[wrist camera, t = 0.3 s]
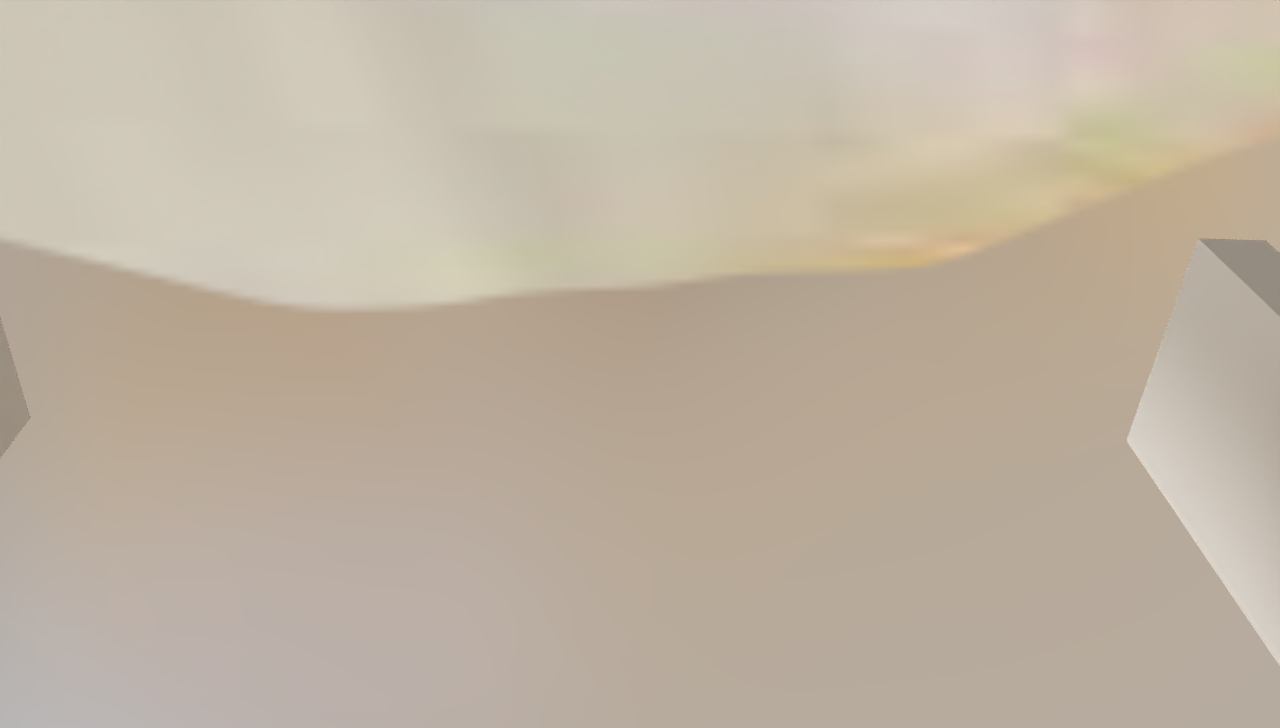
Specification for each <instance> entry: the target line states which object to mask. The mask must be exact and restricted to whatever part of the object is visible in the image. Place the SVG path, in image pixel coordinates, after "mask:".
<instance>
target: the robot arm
mask: <svg viewBox="0 0 1280 728" xmlns="http://www.w3.org/2000/svg"><path fill="white" fill-rule="evenodd" d="M29 419H30V415H29V412H28V408H27V405H26V402H25V398H24V395H23V392H22V388H21V385H20V382H19V378H18V375H17V371H16V368H15V365H14V362H13V358H12V355H11V352H10V348H9V345H8V341H7V338H6V335H5V331H4V328H3V325H2V321H1V318H0V458H1V457H2V455H3V454H4V453H5V451H6V450H7V449H8V447H9V446H10V444H11V443H12V442H13V440H14V439H15V437H16V436H17V435H18V433H19V432H20V431H21V430H22V428H23V427H24V426H25V424H26V423H27V422H28V420H29ZM1127 442H1128V444H1129V445H1130V446H1131V448H1132V449H1133V451H1134V452H1135V454H1136V455H1137V457H1138V458H1139V460H1140V461H1141V463H1142V464H1143V465H1144V467H1145V469H1146V470H1147V471H1148V473H1149V474H1150V476H1151V477H1152V479H1153V480H1154V482H1155V483H1156V484H1157V486H1158V488H1159V489H1160V491H1161V492H1162V493H1163V495H1164V496H1165V498H1166V499H1167V501H1168V502H1169V504H1170V505H1171V507H1172V508H1173V510H1174V511H1175V513H1176V514H1177V515H1178V517H1179V518H1180V520H1181V521H1182V523H1183V524H1184V526H1185V527H1186V529H1187V530H1188V532H1189V533H1190V534H1191V536H1192V538H1193V539H1194V541H1195V542H1196V544H1197V545H1198V546H1199V548H1200V549H1201V551H1202V552H1203V554H1204V555H1205V557H1206V558H1207V560H1208V561H1209V562H1210V564H1211V565H1212V567H1213V569H1214V570H1215V571H1216V573H1217V574H1218V576H1219V577H1220V579H1221V580H1222V582H1223V583H1224V585H1225V586H1226V588H1227V589H1228V590H1229V592H1230V593H1231V595H1232V596H1233V598H1234V599H1235V601H1236V602H1237V604H1238V605H1239V607H1240V608H1241V609H1242V611H1243V612H1244V614H1245V616H1246V617H1247V618H1248V620H1249V621H1250V623H1251V624H1252V626H1253V627H1254V629H1255V630H1256V632H1257V633H1258V635H1259V636H1260V638H1261V639H1262V641H1263V642H1264V643H1265V645H1266V646H1267V648H1268V649H1269V651H1270V652H1271V654H1272V655H1273V657H1274V658H1275V660H1276V661H1277V663H1278V664H1279V665H1280V253H1279V252H1278V251H1277V250H1276V249H1275V248H1274V247H1272V246H1271V245H1270V244H1269V243H1268V242H1267V241H1260V240H1230V239H1198V241H1197V244H1196V247H1195V250H1194V252H1193V255H1192V258H1191V261H1190V263H1189V266H1188V269H1187V272H1186V275H1185V277H1184V280H1183V283H1182V286H1181V289H1180V292H1179V294H1178V297H1177V300H1176V303H1175V306H1174V309H1173V311H1172V314H1171V317H1170V320H1169V322H1168V325H1167V328H1166V331H1165V334H1164V337H1163V339H1162V342H1161V345H1160V348H1159V351H1158V354H1157V357H1156V359H1155V362H1154V365H1153V367H1152V370H1151V373H1150V376H1149V379H1148V382H1147V384H1146V387H1145V390H1144V393H1143V396H1142V398H1141V401H1140V404H1139V407H1138V410H1137V412H1136V415H1135V418H1134V421H1133V424H1132V427H1131V429H1130V432H1129V435H1128V438H1127Z"/></svg>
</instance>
